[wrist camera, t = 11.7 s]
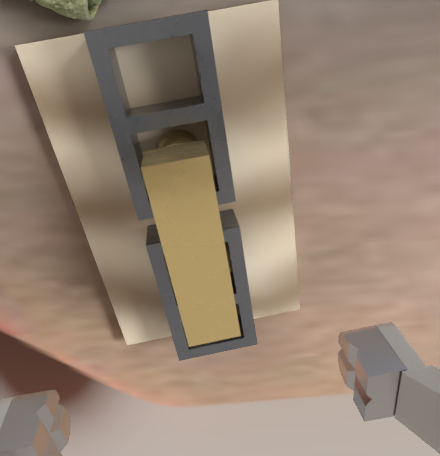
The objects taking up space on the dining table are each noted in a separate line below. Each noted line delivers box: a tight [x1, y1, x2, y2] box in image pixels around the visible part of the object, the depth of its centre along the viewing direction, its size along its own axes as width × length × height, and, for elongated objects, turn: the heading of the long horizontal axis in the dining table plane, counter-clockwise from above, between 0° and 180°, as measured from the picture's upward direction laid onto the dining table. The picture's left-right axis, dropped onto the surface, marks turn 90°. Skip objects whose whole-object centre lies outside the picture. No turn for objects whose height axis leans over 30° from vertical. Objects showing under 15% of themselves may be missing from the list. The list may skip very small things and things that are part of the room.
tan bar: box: [141, 129, 241, 347], centre depth 20 cm, size 10×3×6 cm, turn 9°
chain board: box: [15, 0, 300, 345], centre depth 24 cm, size 20×13×1 cm, turn 9°
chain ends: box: [83, 10, 257, 361], centre depth 22 cm, size 20×5×2 cm, turn 9°
